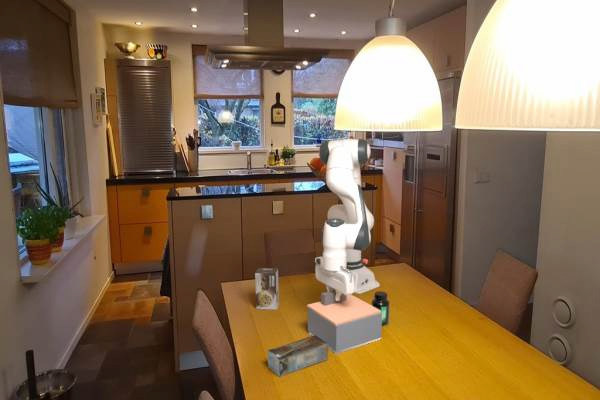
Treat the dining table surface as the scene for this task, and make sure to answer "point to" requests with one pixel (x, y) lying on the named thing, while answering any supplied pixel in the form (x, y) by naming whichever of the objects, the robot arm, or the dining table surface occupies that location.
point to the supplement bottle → (382, 305)
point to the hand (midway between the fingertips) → (334, 298)
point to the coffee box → (267, 288)
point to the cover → (342, 308)
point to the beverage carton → (297, 355)
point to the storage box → (345, 331)
